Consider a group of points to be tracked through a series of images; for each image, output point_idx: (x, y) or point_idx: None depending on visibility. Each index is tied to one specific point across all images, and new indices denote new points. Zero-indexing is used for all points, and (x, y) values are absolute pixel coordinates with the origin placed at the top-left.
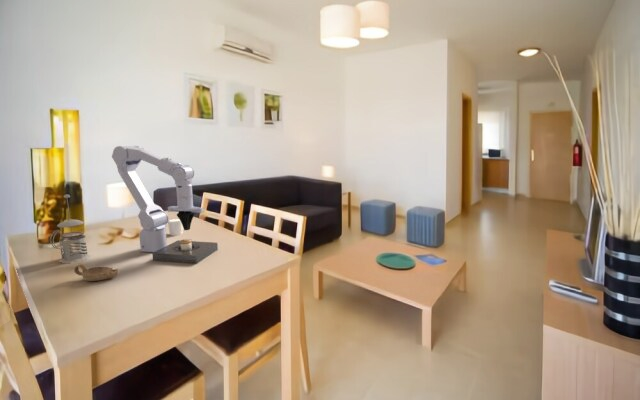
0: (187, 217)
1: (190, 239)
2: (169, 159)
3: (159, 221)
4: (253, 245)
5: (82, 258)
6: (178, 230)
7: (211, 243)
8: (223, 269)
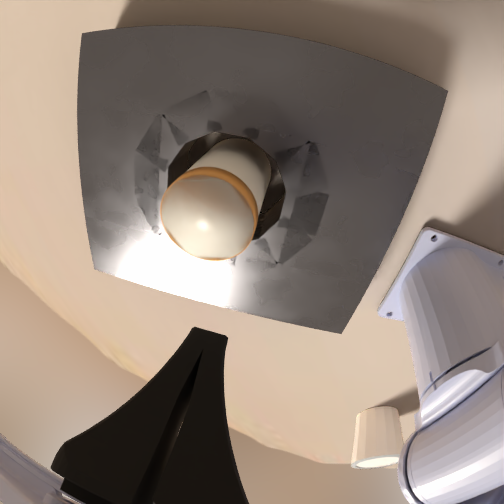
0: (83, 434)
1: (179, 243)
2: None
3: (467, 432)
4: (36, 276)
5: None
6: (367, 425)
7: (112, 260)
8: (9, 22)
